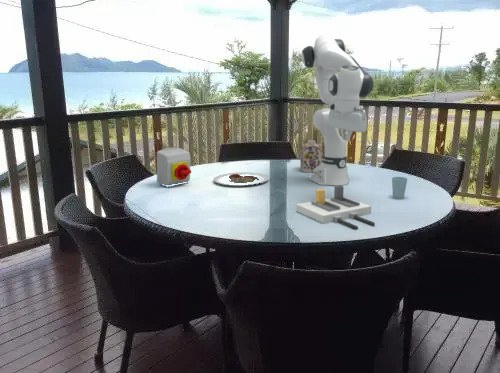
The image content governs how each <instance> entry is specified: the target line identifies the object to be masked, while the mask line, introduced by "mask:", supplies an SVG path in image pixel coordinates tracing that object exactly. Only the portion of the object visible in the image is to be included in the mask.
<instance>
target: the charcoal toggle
mask: <svg viewBox="0 0 500 373" xmlns="http://www.w3.org/2000/svg"><path fill="white" fill-rule="evenodd" d="M333 190H334V192H333V195H334V196H333V198H334V199H337V200H340V201H342V200H343V197H344V185H334V189H333Z"/></svg>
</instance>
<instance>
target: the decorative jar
mask: <svg viewBox="0 0 500 373" xmlns="http://www.w3.org/2000/svg"><path fill="white" fill-rule="evenodd" d="M322 156H323V147H322V144H321V143H318V142H316V140H307V142H305V143H301V145H300V170H301V172H302V171H303V172H302V173H314V169H315V168H316V167H317V166H319V165H320V164H321V163H322V160H323V159H321V158H323V157H322Z"/></svg>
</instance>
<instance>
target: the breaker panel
mask: <svg viewBox="0 0 500 373" xmlns="http://www.w3.org/2000/svg"><path fill="white" fill-rule="evenodd" d="M295 209H296V212H297V211H298V212H297V213H299V212H300V213H299V214H301V213H302V214H301V215H303V214H304V216H306V215H307V216H306V217H308V216H309V217H308V218H310V217H311V219H312V218H313V220H314V219H315V220H314V221H317V222H319V223H321V224H327V223H331V222H332V223H333V222H334V221H333V216H338V215H339V216H341V217H342V220H345V219H350V218H349V216H350V213H352V212H356V213H358V216H359V217H362V216H363V215H370V214H372V206H371V205H369V204H366V203H363V202H361V201H357V200H355V199H352V198H348V197H345V196H343V200H342V201H340V200H337V199H334V197H329V198H325V204H323V205H321V204H319V203H316V200H312V201H308V202H307V201H306V202H302V203H297V204H296V208H295Z"/></svg>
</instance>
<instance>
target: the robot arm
mask: <svg viewBox="0 0 500 373" xmlns="http://www.w3.org/2000/svg"><path fill="white" fill-rule="evenodd" d="M300 58H301V62H302V64H303V66H304V67H305V68H307V69H312V68H314V67H315V69H314V70H315V82H316V86H317V89H318V90H317V91H318V94H319V95H318V96H319V98H320V101H321V102H322V103H324V104H326V105H327V106H328V107H324V108H321V109H318V110H316V111H315V112H314V114H313V117H312V121H313V122H312V123H313V125H314V127H315V128H316V129H317V130H319V132H320V133H321V135H322V138H323V143H324V144H323V145H324V155H322V158H321V159H322V163H321V164H320V165H319V166H317V167H316V168H315V169H314V172H313V175H311V176H309V177H308V180H310V181H312V182H314V183H316V184H318V185H320V186H344V185H347V184H349V181H350V179H349V174H348V173H349V171H348V166H347V163H348V155H347V146H348V145H347V144H348V143H347V142H348V141H350V140H351V136H352V134H353V132H356V133H365V132H366V131H367V129H368V126H367V125H368V121H367V113H366V111H365V110H364V108H360V99H361V98H366V97H367V96H369V95H371V93H372V92H373V90H374V80H373V76H371V74H369V73H368V72H366V71H365V70H364V69H363V67H362V66H361V65H360V64H359V62H357V60H356V59H355V58H354V57H353V56H352V55H351V54H349V53H347V47H346V44H345V43H344V41H343V40H342V39H340V38H334V37H333V36H332V35H330V34H327V33H323V34H321V35H318V37H317V38H316V39H315V41H314V44H312V45H308V46H306V47H304V48H303V49H302V51H301V55H300ZM337 71H338V72H337ZM340 133H341V135H340Z"/></svg>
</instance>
